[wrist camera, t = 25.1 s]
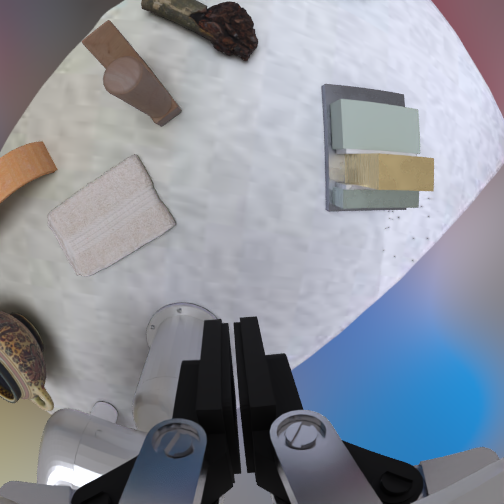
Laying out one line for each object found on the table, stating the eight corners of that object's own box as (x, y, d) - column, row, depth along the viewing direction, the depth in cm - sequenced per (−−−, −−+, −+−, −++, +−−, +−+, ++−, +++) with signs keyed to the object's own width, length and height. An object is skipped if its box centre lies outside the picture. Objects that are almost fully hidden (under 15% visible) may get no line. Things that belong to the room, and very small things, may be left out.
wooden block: (141, 58, 34) (95, 3, 17) (183, 111, 37) (152, 75, 20) (121, 74, 34) (63, 29, 17) (161, 127, 37) (116, 104, 20)
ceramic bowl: (91, 359, 46) (61, 415, 32) (52, 393, 48) (25, 440, 34) (2, 259, 40) (-50, 291, 25) (-24, 310, 42) (-64, 344, 27)
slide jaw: (405, 157, 39) (420, 158, 36) (332, 153, 38) (343, 153, 35) (403, 112, 37) (418, 109, 33) (330, 104, 36) (340, 98, 33)
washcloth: (49, 214, 39) (39, 218, 36) (138, 150, 38) (132, 149, 35) (86, 278, 43) (78, 286, 40) (178, 223, 42) (175, 228, 39)
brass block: (345, 182, 40) (378, 189, 30) (344, 154, 39) (378, 153, 29) (393, 183, 41) (433, 191, 31) (393, 156, 39) (433, 158, 30)
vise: (401, 208, 43) (420, 214, 38) (325, 209, 42) (339, 216, 37) (398, 95, 38) (418, 90, 33) (321, 86, 37) (334, 76, 32)
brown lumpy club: (143, 13, 31) (134, -3, 26) (173, -17, 30) (168, -35, 24) (240, 69, 36) (243, 57, 30) (270, 37, 34) (277, 22, 29)
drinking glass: (99, 393, 49) (76, 448, 35) (127, 411, 51) (110, 468, 36) (86, 406, 50) (64, 458, 36) (112, 424, 52) (96, 477, 37)
